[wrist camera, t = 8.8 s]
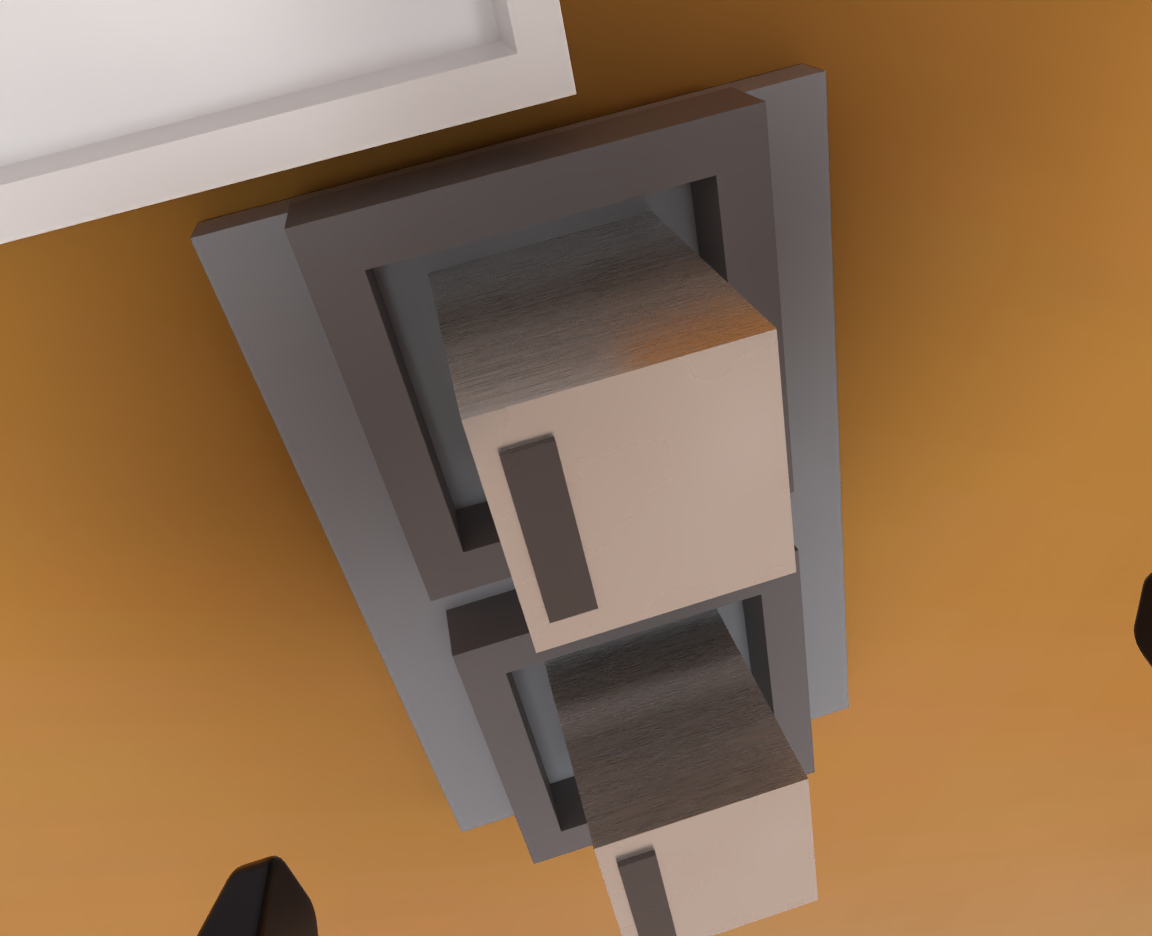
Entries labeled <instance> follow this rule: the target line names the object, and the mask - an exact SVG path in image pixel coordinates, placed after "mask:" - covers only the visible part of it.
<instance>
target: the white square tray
mask: <svg viewBox="0 0 1152 936" xmlns="http://www.w3.org/2000/svg"><path fill="white" fill-rule="evenodd" d="M575 94H576V88H575V83H574V77H573V72H572V67H571V61H570V56H569V51H568V45H567V40H566V34H565V29H564V24H563V18H562V13H561V8H560V2H559V0H0V244H3V243H7V242H10V241H14V240H18V239H22V238H26V237H30V236H34V235H37V234H41V233H45V232H49V231H53V230H57V229H60V228H64V227H68V226H72V225H76V224H80V223H83V222H87V221H91V220H95V219H99V218H103V217H107V216H110V215H114V214H118V213H122V212H126V211H130V210H133V209H137V208H141V207H145V206H149V205H153V204H157V203H160V202H164V201H168V200H172V199H176V198H180V197H183V196H187V195H191V194H195V193H199V192H203V191H206V190H210V189H214V188H218V187H222V186H226V185H230V184H233V183H237V182H241V181H245V180H249V179H253V178H256V177H260V176H264V175H268V174H272V173H276V172H279V171H283V170H287V169H291V168H295V167H299V166H303V165H306V164H310V163H314V162H318V161H322V160H326V159H329V158H333V157H337V156H341V155H345V154H349V153H353V152H356V151H360V150H364V149H368V148H372V147H376V146H379V145H383V144H387V143H391V142H395V141H399V140H402V139H406V138H410V137H414V136H418V135H422V134H426V133H429V132H433V131H437V130H441V129H445V128H449V127H452V126H456V125H460V124H464V123H468V122H472V121H475V120H479V119H483V118H487V117H491V116H495V115H499V114H502V113H506V112H510V111H514V110H518V109H522V108H525V107H529V106H533V105H537V104H541V103H545V102H549V101H552V100H556V99H560V98H564V97H568V96H572V95H575Z"/></svg>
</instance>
